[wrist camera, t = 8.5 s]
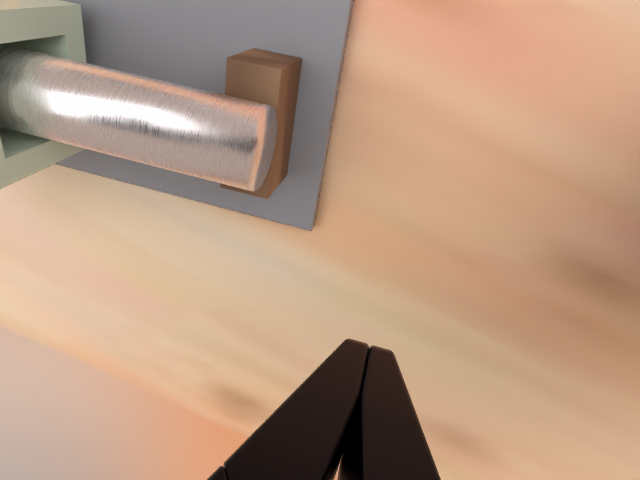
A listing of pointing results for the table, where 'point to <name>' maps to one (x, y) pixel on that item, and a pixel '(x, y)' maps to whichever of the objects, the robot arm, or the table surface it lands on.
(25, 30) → the pale green stepped block
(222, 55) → the pipe rig
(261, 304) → the table surface
